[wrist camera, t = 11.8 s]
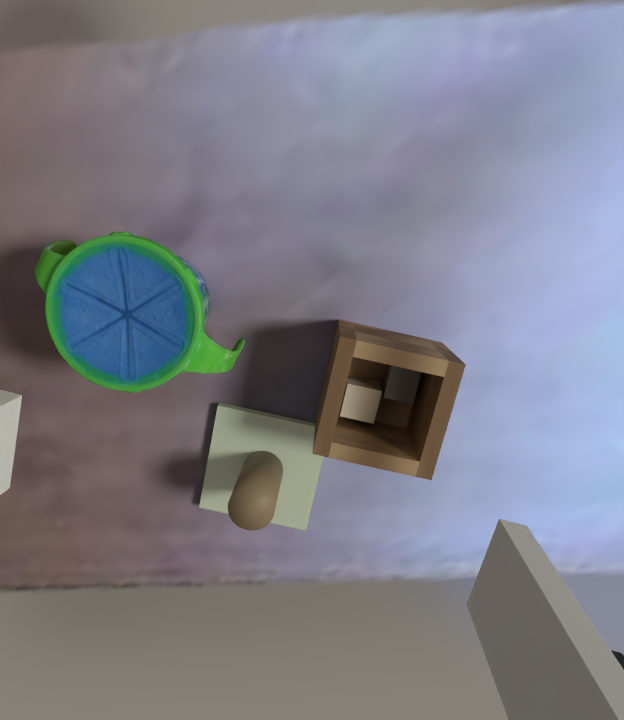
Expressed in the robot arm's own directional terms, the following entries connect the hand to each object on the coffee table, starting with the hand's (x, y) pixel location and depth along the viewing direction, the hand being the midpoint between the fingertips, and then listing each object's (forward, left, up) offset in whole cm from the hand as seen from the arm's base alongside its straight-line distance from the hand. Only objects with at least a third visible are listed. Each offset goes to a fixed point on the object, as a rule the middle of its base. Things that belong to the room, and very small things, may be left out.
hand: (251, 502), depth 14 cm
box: (+7, -4, -31) cm, 32 cm away
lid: (-1, -14, -32) cm, 34 cm away
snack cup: (-12, -1, -31) cm, 34 cm away
